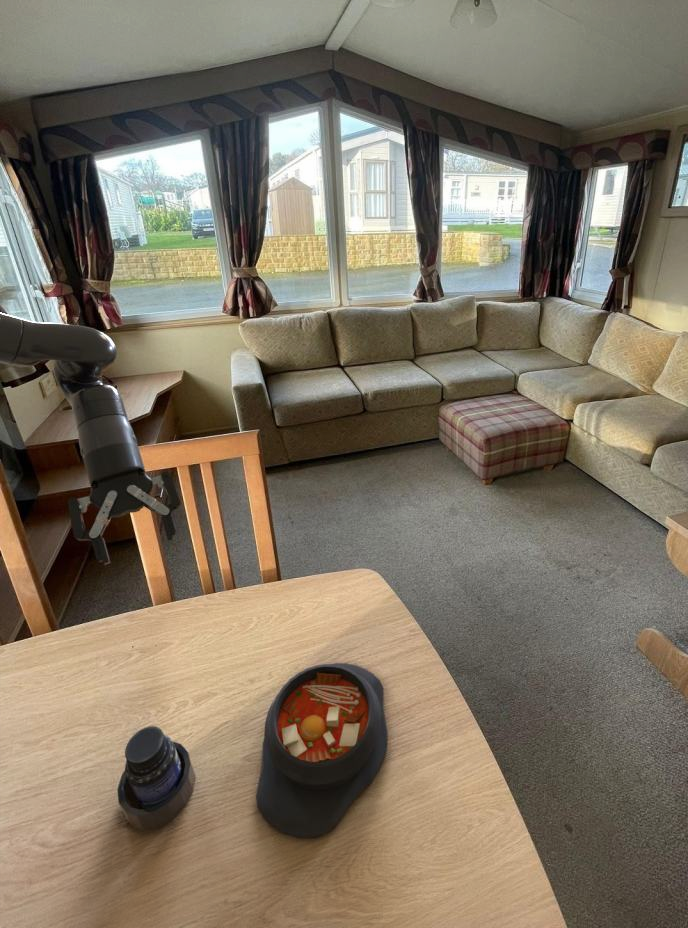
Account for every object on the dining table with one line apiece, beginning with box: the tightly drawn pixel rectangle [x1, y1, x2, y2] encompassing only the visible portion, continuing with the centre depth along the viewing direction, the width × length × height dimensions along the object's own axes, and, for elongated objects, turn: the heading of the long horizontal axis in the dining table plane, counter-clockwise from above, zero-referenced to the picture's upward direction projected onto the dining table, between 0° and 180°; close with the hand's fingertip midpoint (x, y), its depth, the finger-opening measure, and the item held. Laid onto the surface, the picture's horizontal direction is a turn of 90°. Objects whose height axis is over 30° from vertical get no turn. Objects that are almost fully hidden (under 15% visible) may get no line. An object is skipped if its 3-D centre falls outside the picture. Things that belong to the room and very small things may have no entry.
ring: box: [117, 741, 196, 831], centre depth 66 cm, size 9×9×5 cm
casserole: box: [255, 662, 389, 839], centre depth 71 cm, size 25×19×8 cm
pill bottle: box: [124, 725, 184, 810], centre depth 65 cm, size 6×6×11 cm
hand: (139, 552), depth 70 cm, fingers open, 8 cm apart
